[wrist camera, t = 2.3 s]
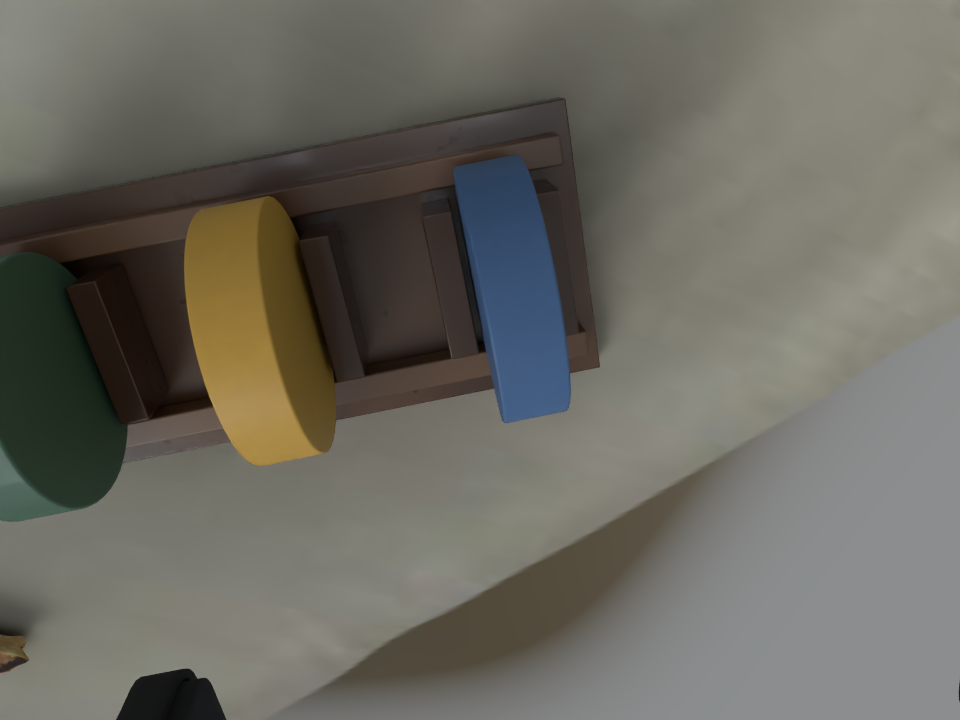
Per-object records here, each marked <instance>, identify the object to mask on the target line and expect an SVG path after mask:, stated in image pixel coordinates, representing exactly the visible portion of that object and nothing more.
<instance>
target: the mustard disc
mask: <svg viewBox="0 0 960 720" xmlns="http://www.w3.org/2000/svg"><path fill="white" fill-rule="evenodd" d="M298 241H299V236H298V234H297V232H296V229H295V227H294V225H293V223H292V221H291V219H290V218H289V216H288V214H287V213H286V211H285V210H284V208H283V207H282V205H281V204H280V203H279V202H278V201H277V200H276V199H275V198H273V197H270V196H266V197H261V198H256V199H251V200H245V201H240V202H235V203H230V204H225V205H220V206H215V207H210V208H205V209H201V210H200V211H199V212H197V213H196V214H195V215H194V217H193V218H192V220H191V223H190V225H189V228H188V232H187V237H186V243H185V253H184V277H185V292H186V302H187V310H188V316H189V323H190V328H191V333H192V338H193V343H194V347H195V351H196V355H197V359H198V363H199V366H200V370H201V373H202V376H203V380H204V383H205V386H206V388H207V391H208V394H209V397H210V400H211V402H212V404H213V407H214V409H215V412H216V414H217V416H218V418H219V420H220V422H221V424H222V426H223V429H224V431H225V432H226V434H227V436H228V437H229V439H230V441H231V442H232V444H233V445H234V447H235V448H236V449H237V451H238V452H239V453H240V454H241V455H242V456H243V457H244V458H245V459H246V460H247V461H249V462H250V463H252V464H255V465H257V466H265V465H269V464H274V463H279V462H284V461H289V460H294V459H299V458H304V457H309V456H314V455H319V454H324V453H325V452H327V451H328V450H329V449H330V447H331V445H332V442H333V438H334V433H335V424H336V399H335V385H334V375H333V367H332V362H331V359H330V355H329V352H328V348H327V344H326V341H325V337H324V334H323V330H322V326H321V323H320V319H319V315H318V312H317V308H316V305H315V301H314V297H313V294H312V290H311V287H310V283H309V279H308V276H307V272H306V269H305V265H304V261H303V258H302V254H301V251H300V247H299V243H298Z"/></svg>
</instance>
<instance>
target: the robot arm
mask: <svg viewBox="0 0 960 720" xmlns="http://www.w3.org/2000/svg"><path fill="white" fill-rule="evenodd" d="M959 701H960V684H959ZM116 720H226V718H225V715H224V713H223V711H222V708H221V706H220V703H219V701H218V699H217V696H216V694H215V691H214V689H213V687H212V685H211V683H210V681H209V680H208V679H207V678H200V679H197V677H196V676H195V674H194V672H193V671H191V670H190V669H180V670H175V671H170V672H165V673H159V674H154V675H149V676H144V677H140V678H139V679H137V680H136V681H135V683H134V684H133V686H132V687H131V689H130V691H129V694H128V696H127V698H126V700H125V702H124V704H123V707H122V709H121V711H120V713H119V715H118V717H117V719H116Z"/></svg>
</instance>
